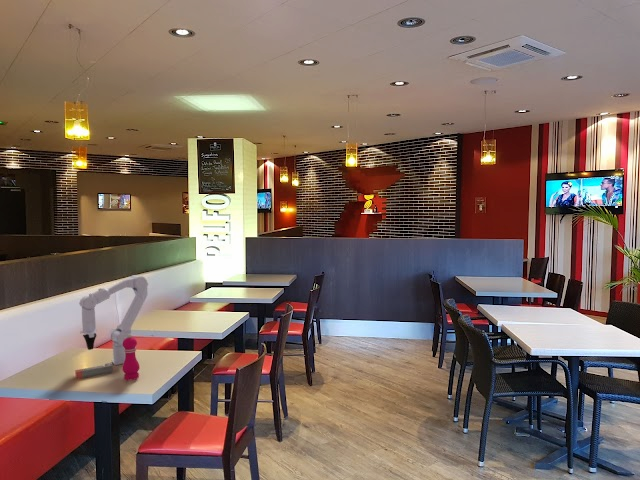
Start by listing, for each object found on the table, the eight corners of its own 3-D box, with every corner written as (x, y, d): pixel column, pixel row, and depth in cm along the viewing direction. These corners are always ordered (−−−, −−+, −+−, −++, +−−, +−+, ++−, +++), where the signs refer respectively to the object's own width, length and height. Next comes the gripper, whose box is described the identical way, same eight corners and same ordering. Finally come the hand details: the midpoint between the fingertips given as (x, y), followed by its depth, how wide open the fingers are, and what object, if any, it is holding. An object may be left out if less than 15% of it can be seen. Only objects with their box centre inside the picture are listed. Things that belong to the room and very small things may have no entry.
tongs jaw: (103, 371, 231) (102, 365, 230) (103, 372, 229) (103, 366, 229) (75, 376, 224) (75, 370, 224) (75, 377, 223) (75, 371, 223)
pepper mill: (143, 375, 224) (141, 332, 222) (132, 381, 217) (130, 336, 216) (130, 374, 226) (128, 331, 225) (119, 379, 219) (116, 335, 218)
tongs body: (111, 369, 233) (111, 362, 233) (113, 372, 229) (113, 365, 229) (75, 376, 225) (74, 369, 225) (76, 379, 221) (76, 372, 221)
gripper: (77, 319, 239) (79, 347, 240) (81, 325, 227) (83, 354, 227) (93, 317, 243) (95, 344, 243) (98, 323, 230) (99, 351, 231)
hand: (90, 349), depth 236 cm, fingers closed
